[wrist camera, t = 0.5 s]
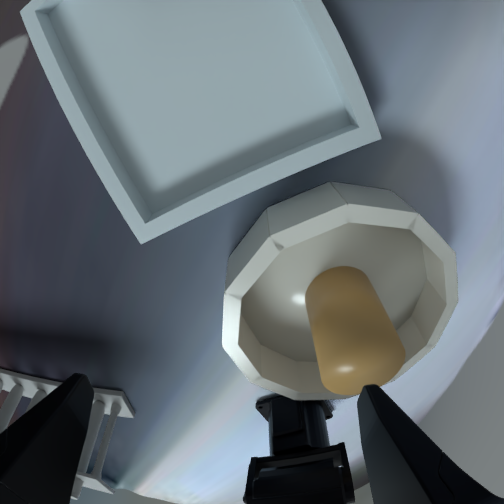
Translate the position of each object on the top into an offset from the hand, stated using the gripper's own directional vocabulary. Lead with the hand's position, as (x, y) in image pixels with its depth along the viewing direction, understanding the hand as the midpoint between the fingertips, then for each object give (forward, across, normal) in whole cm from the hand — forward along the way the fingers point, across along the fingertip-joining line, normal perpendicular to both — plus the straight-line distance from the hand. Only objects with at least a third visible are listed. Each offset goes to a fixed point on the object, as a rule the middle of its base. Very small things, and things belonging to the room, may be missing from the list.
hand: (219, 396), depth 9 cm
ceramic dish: (+13, -7, +5) cm, 16 cm away
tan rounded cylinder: (+12, -7, +5) cm, 15 cm away
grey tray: (+12, +3, -12) cm, 17 cm away
